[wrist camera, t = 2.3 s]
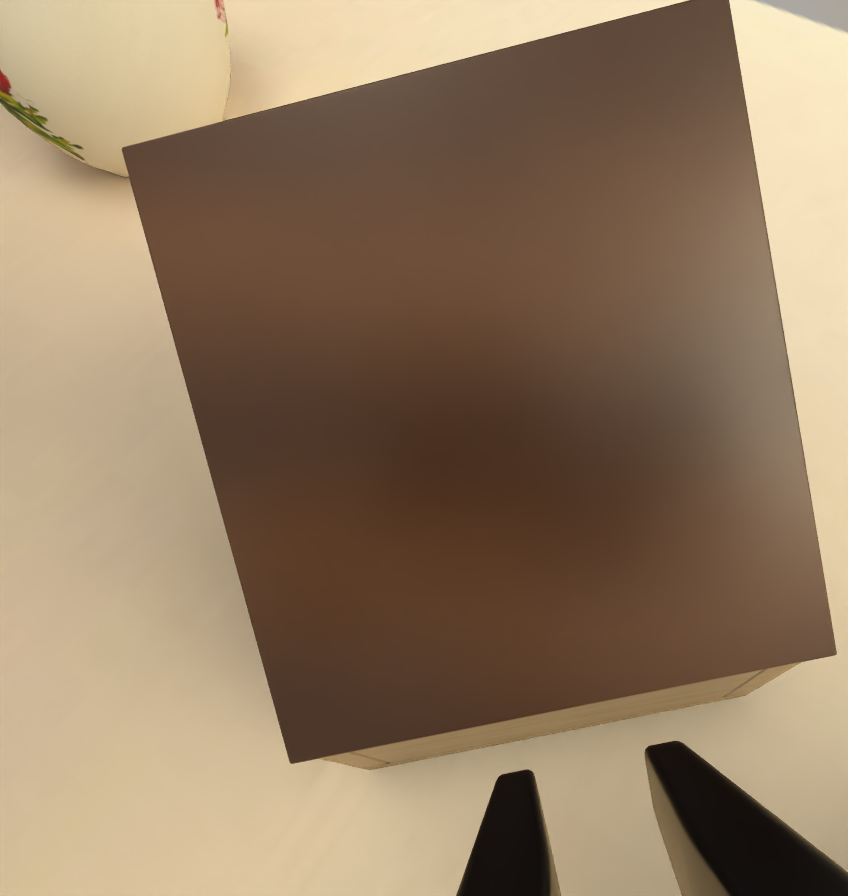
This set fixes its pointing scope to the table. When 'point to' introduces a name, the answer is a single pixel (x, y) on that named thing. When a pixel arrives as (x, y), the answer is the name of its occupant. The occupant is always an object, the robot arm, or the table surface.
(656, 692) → the tea box
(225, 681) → the table surface
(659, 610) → the lid
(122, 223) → the table surface
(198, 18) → the pitcher
